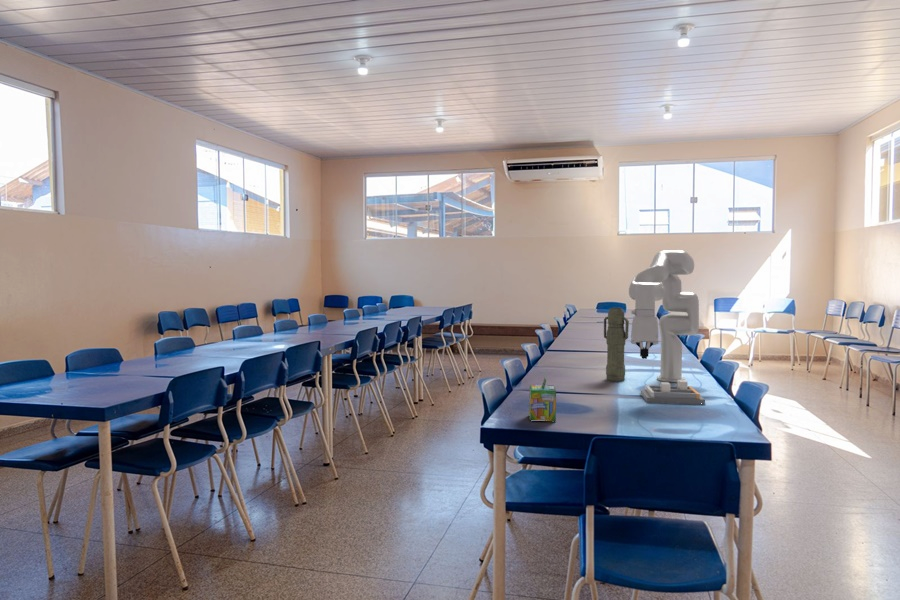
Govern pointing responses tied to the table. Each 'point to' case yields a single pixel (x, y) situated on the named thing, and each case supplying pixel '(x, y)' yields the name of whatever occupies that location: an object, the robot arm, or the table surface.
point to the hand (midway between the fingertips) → (644, 358)
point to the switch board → (671, 395)
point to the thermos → (615, 343)
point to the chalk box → (542, 402)
